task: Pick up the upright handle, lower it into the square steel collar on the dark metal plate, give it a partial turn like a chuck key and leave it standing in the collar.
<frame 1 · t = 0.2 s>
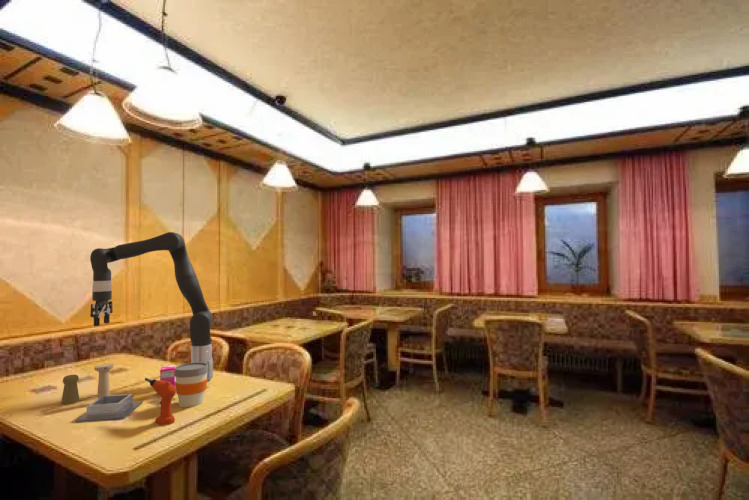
hand: (101, 324, 179), 29 cm above the table, tool pointing down, fingers open, 8 cm apart
handle: (103, 402, 157), on the table
reusable coffee cup: (191, 403, 154), on the table
pepper shaker: (70, 402, 157), on the table
toy drill: (158, 419, 138), on the table
chuck block: (110, 412, 145), on the table
supplement box: (168, 393, 166), on the table
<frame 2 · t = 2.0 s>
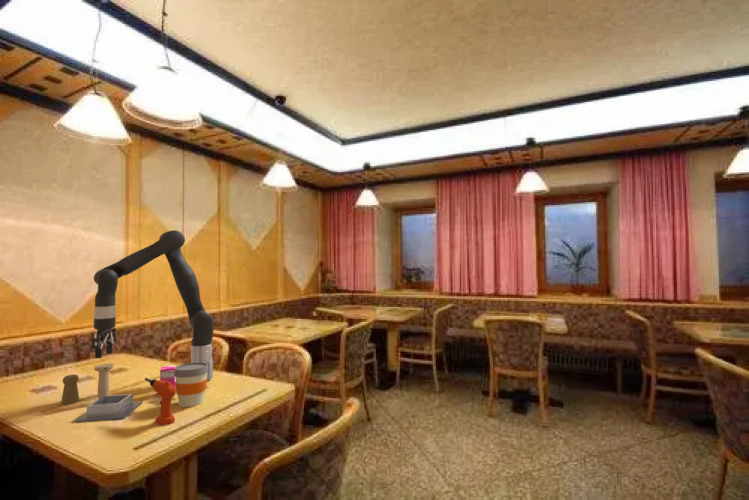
hand: (104, 355, 157), 19 cm above the table, tool pointing down, fingers open, 8 cm apart
nothing on the table moved.
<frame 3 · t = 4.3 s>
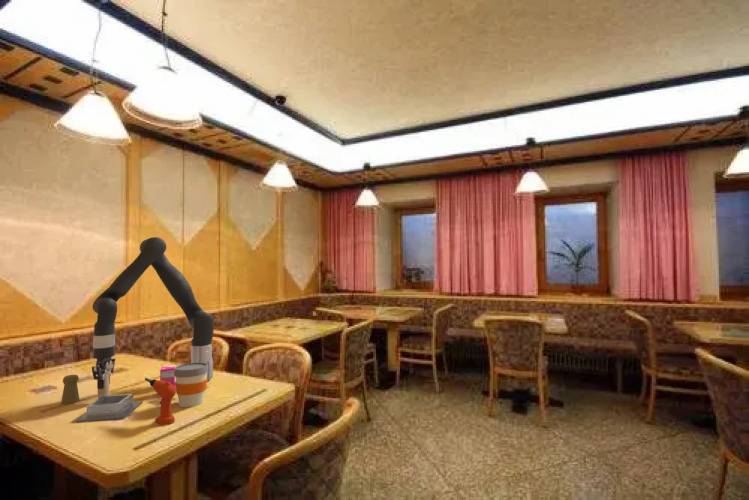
hand: (103, 386, 157), 6 cm above the table, tool pointing down, fingers closed on handle, 4 cm apart
handle: (103, 402, 157), on the table, touching gripper
everything else where it was.
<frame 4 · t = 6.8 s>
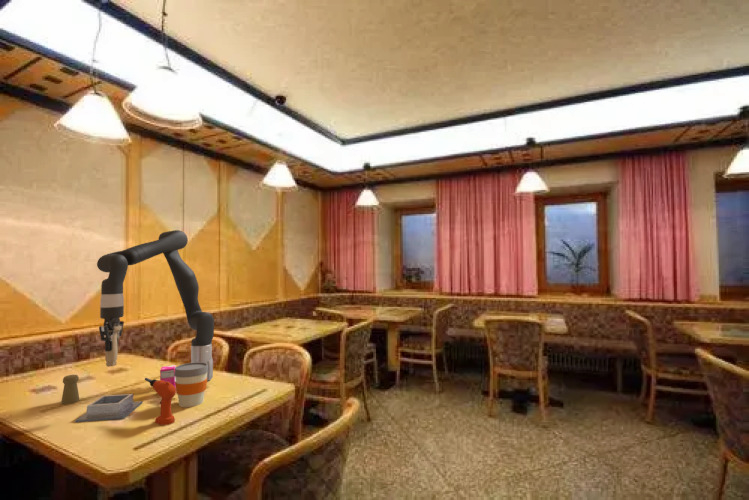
hand: (111, 349, 146), 24 cm above the table, tool pointing down, fingers closed on handle, 4 cm apart
handle: (111, 366, 146), point 18 cm above the table, touching gripper
everything else where it was.
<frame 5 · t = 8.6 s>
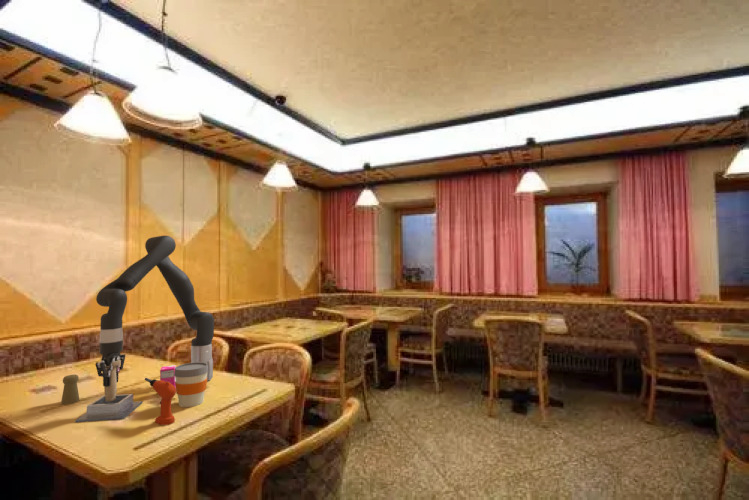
hand: (110, 384, 146), 11 cm above the table, tool pointing down, fingers closed on handle, 4 cm apart
handle: (110, 401, 146), point 4 cm above the table, touching gripper
everything else where it was.
when the fingers open (8 cm above the table, at t = 9.6 s): handle stays where it is, resting on chuck block.
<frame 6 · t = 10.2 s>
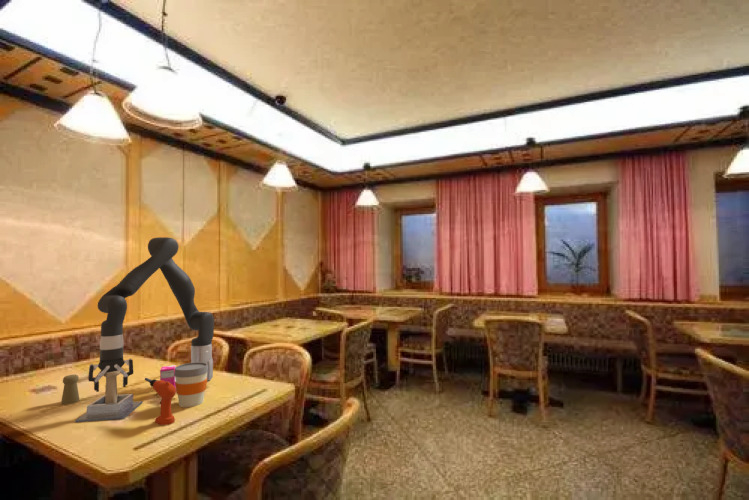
hand: (111, 388, 146), 9 cm above the table, tool pointing down, fingers open, 8 cm apart
handle: (111, 410, 146), point 1 cm above the table, touching chuck block
everything else where it was.
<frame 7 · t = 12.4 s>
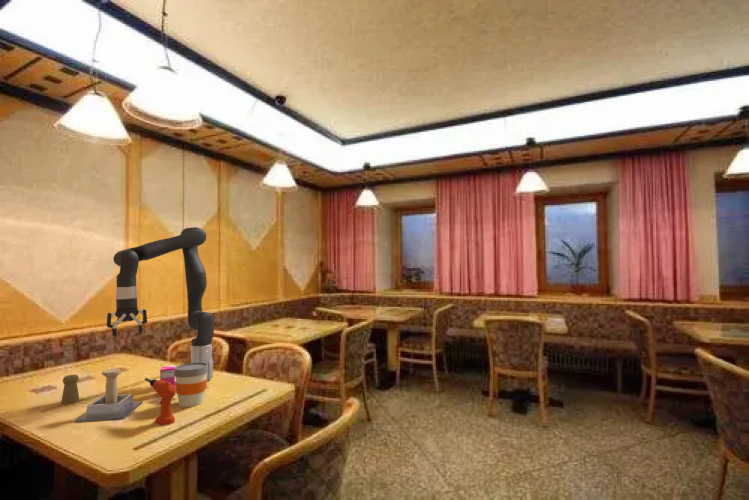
hand: (127, 335, 159), 27 cm above the table, tool pointing down, fingers open, 8 cm apart
nothing on the table moved.
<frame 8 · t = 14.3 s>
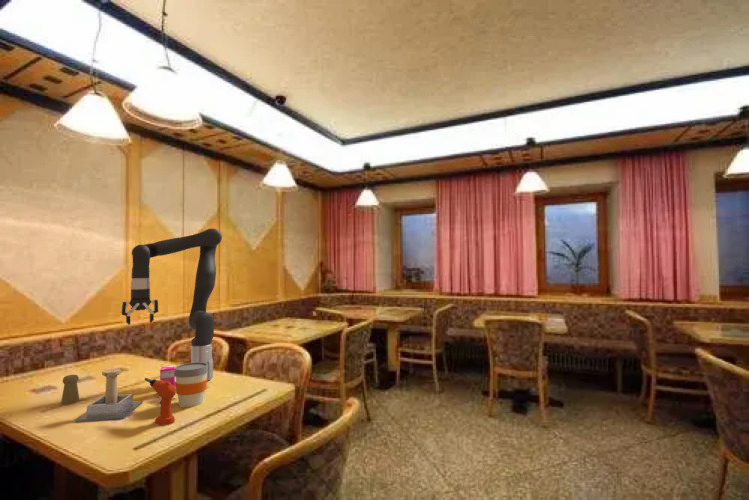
hand: (140, 323, 173), 30 cm above the table, tool pointing down, fingers open, 8 cm apart
nothing on the table moved.
at the end: handle 0.2 cm off-centre on the chuck block, point 0.6 cm above the chuck block's base; handle tilted 0°; the gripper is holding nothing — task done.
